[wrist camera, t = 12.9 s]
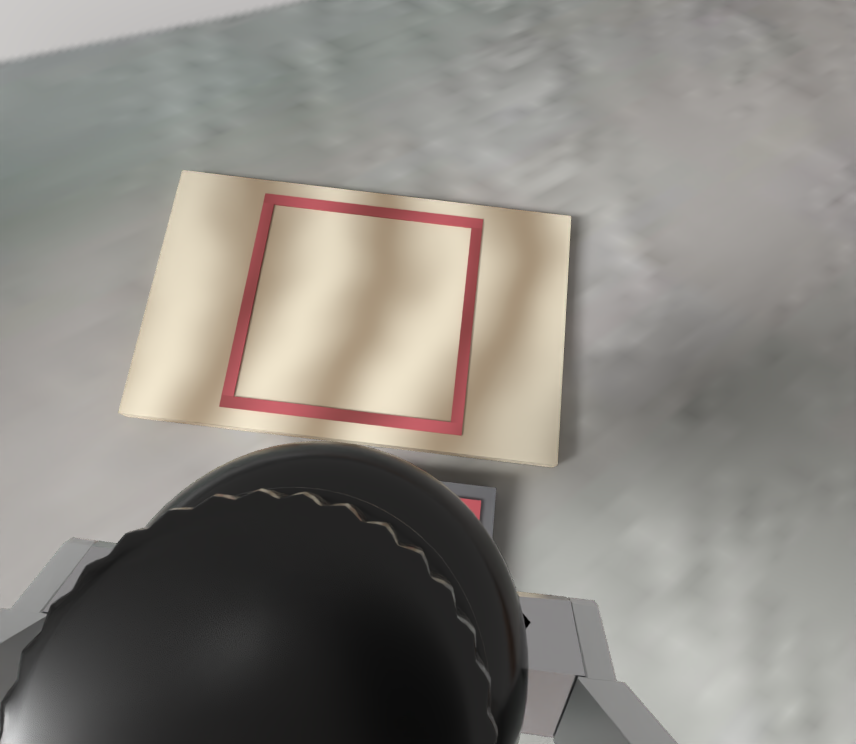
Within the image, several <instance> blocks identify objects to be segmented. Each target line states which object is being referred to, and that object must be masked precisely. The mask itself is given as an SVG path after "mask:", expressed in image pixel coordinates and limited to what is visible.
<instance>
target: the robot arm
mask: <svg viewBox="0 0 856 744" xmlns="http://www.w3.org/2000/svg"><path fill="white" fill-rule="evenodd" d="M116 544H117V543H111V542H104V541H96V540H89V539H81V538H74V537H73V538H71V539H69V540H68V541H66V542H65V543H63V544H62V546H61V547H60V548H59V549H58V551H57V552H56V553H55V554H54V556H53V557H52V558H51V559H50V561H49V562H48V563H47V564H46V565H45V567H44V568H43V569H42V570H41V572H40V573H39V574H38V575H37V577H36V578H35V579H34V580H33V582H32V583H31V584H30V585H29V587H28V588H27V589H26V590H25V591H24V593H23V594H22V595H21V596H20V598H19V599H18V600H17V601H16V603H15V604H14V605H13V606H12V608H11V609H6V608H1V609H0V703H1V701H2V700H3V698H4V696H5V695H6V693H7V692H8V690H9V689H10V688H11V687H12V686H13V684H14V683H15V681H16V679H17V675H18V667H19V662H20V657H21V652H22V650H23V649H24V648H25V647H26V646H27V645H28V644H29V642H30V641H31V640H32V639H33V638H34V637H36V636H37V635H38V634H39V633H40V632H41V631H42V627H43V624H44V621H45V618H46V615H47V613H48V610H49V608H50V605H51V604H52V603H54V602H55V601H56V600H57V599H59V598H60V597H61V596H63V595H65V594H67V593H68V592H70V591H71V590H72V589H73V587H74V585H75V583H76V581H77V579H78V577H79V576H80V574H81V572H82V571H83V569H84V568H85V566H86V565H87V564H89V563H91V562H93V561H95V560H97V559H99V558H102V557H105V556H107V555H109V554H110V552H111V551H112V550H113V548H114V547H115V545H116ZM517 594H518V597H519V601H520V604H521V608H522V613H523V618H524V623H525V628H526V636H527V645H528V662H529V679H528V693H527V703H526V709H525V715H524V721H523V726H522V730H521V733H524V734H530V735H537V736H544V737H551V738H554V739H553V741H554V743H555V744H678V743H677V742H676V741H675V740H674V739H673V737H672V736H671V735H670V734H669V733H668V732H667V730H666V729H665V728H664V727H663V726H662V725H661V724H660V722H659V721H658V720H657V719H656V718H655V717H654V715H653V714H652V713H651V712H650V711H649V710H648V708H647V707H646V706H645V705H644V704H643V703H642V702H641V700H640V699H639V698H638V697H637V696H636V695H635V693H634V692H633V691H632V690H631V689H630V688H629V687H628V685H627V684H626V683H625V682H619V681H617V680H616V676H615V672H614V668H613V663H612V659H611V655H610V651H609V647H608V643H607V639H606V635H605V631H604V627H603V623H602V619H601V615H600V611H599V607H598V605H597V603H596V602H595V601H594V600H586V599H577V598H567V597H564V596H554V595H545V594H536V593H526V592H517ZM0 731H1V730H0Z"/></svg>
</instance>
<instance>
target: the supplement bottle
mask: <svg viewBox="0 0 856 744" xmlns="http://www.w3.org/2000/svg"><path fill="white" fill-rule="evenodd" d="M528 679H529V662H528V645H527V636H526V628H525V623H524V618H523V613H522V608H521V604H520V601H519V597H518V594H517V591H516V587H515V584H514V582H513V579H512V577H511V574H510V572H509V569H508V567H507V565H506V563H505V561H504V559H503V557H502V555H501V553H500V551H499V549H498V547H497V545H496V544H495V542H494V541H493V539H492V538H491V536H490V534H489V533H488V531H487V530H486V528H485V527H484V526H483V524H482V523H481V522H480V521H479V519H478V518H477V517H476V515H475V514H474V513H473V512H472V511H471V510H470V508H469V507H468V506H467V505H466V504H465V503H464V502H463V501H462V500H461V499H460V498H459V497H458V496H457V495H456V494H455V493H453V492H452V491H451V490H450V489H449V488H448V487H446V486H445V485H444V484H443V483H442V482H440V481H439V480H437V479H436V478H434V477H433V476H432V475H430V474H429V473H427V472H426V471H424V470H422V469H421V468H419V467H417V466H415V465H413V464H412V463H410V462H408V461H406V460H403V459H401V458H399V457H397V456H394V455H392V454H389V453H386V452H383V451H380V450H377V449H374V448H370V447H365V446H361V445H357V444H351V443H343V442H334V441H309V442H295V443H289V444H283V445H277V446H273V447H269V448H265V449H262V450H258V451H255V452H252V453H249V454H247V455H244V456H241V457H239V458H236V459H234V460H232V461H230V462H228V463H226V464H224V465H222V466H220V467H217V468H216V469H214V470H212V471H211V472H209V473H207V474H206V475H204V476H202V477H201V478H199V479H197V480H196V481H195V482H193V483H192V484H191V485H189V486H188V487H187V488H185V489H184V490H182V491H181V492H180V493H179V494H178V495H176V496H175V497H174V498H173V499H172V500H171V501H170V502H168V503H167V504H166V505H165V506H164V507H163V508H162V509H161V510H160V511H159V512H158V513H157V514H156V515H155V516H154V517H153V518H152V519H151V521H150V522H149V523H148V524H147V525H146V526H145V528H141V529H137V530H134V531H130V532H128V533H126V534H125V535H124V536H123V537H122V538H121V539H120V541H119V542H118V543H117V544H116V545H115V547H114V548H113V550H112V551H111V552H110V554H109V555H107V556H105V557H102V558H99V559H97V560H95V561H93V562H91V563H89V564H87V565H86V566H85V568H84V569H83V571H82V572H81V574H80V576H79V577H78V579H77V581H76V583H75V585H74V587H73V589H72V590H71V591H70V592H68V593H67V594H65V595H63V596H61V597H60V598H59V599H57V600H56V601H55V602H54V603H52V604H51V605H50V608H49V610H48V613H47V615H46V618H45V621H44V624H43V627H42V631H41V632H40V633H39V634H38V635H37V636H36V637H34V638H33V639H32V640H31V641H30V642H29V644H28V645H27V646H26V647H25V648H24V649H23V650H22V652H21V657H20V662H19V667H18V675H17V679H16V681H15V683H14V684H13V686H12V687H11V688H10V689H9V690H8V692H7V693H6V695H5V696H4V698H3V700H2V701H1V703H0V730H1V731H0V744H518V742H519V738H520V734H521V730H522V726H523V721H524V715H525V709H526V703H527V693H528Z"/></svg>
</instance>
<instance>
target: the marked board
mask: <svg viewBox="0 0 856 744" xmlns="http://www.w3.org/2000/svg"><path fill="white" fill-rule="evenodd" d="M570 229H571V216H566V215H558V214H549V213H541V212H532V211H524V210H516V209H507V208H499V207H490V206H482V205H473V204H465V203H456V202H448V201H440V200H431V199H423V198H414V197H406V196H397V195H389V194H380V193H372V192H364V191H355V190H347V189H338V188H330V187H321V186H313V185H305V184H296V183H288V182H279V181H271V180H262V179H254V178H245V177H237V176H229V175H220V174H212V173H203V172H195V171H186V170H182V173H181V177H180V181H179V184H178V188H177V192H176V196H175V199H174V203H173V207H172V211H171V215H170V218H169V222H168V226H167V230H166V233H165V237H164V241H163V245H162V249H161V252H160V256H159V260H158V264H157V267H156V271H155V275H154V279H153V283H152V286H151V290H150V294H149V298H148V302H147V305H146V309H145V313H144V317H143V320H142V324H141V328H140V332H139V336H138V339H137V343H136V347H135V351H134V354H133V358H132V362H131V366H130V370H129V373H128V377H127V381H126V385H125V388H124V392H123V396H122V400H121V404H120V407H119V411H118V413H120V414H122V415H124V416H127V417H134V418H142V419H150V420H159V421H167V422H176V423H184V424H192V425H201V426H209V427H217V428H226V429H234V430H242V431H251V432H259V433H268V434H276V435H284V436H293V437H301V438H309V439H318V440H326V441H335V442H343V443H351V444H360V445H368V446H376V447H385V448H393V449H401V450H410V451H418V452H427V453H435V454H443V455H452V456H460V457H468V458H477V459H485V460H494V461H502V462H510V463H519V464H527V465H535V466H544V467H552V468H553V467H555V466H557V465H558V448H559V429H560V411H561V393H562V375H563V356H564V338H565V320H566V302H567V283H568V265H569V247H570Z"/></svg>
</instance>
